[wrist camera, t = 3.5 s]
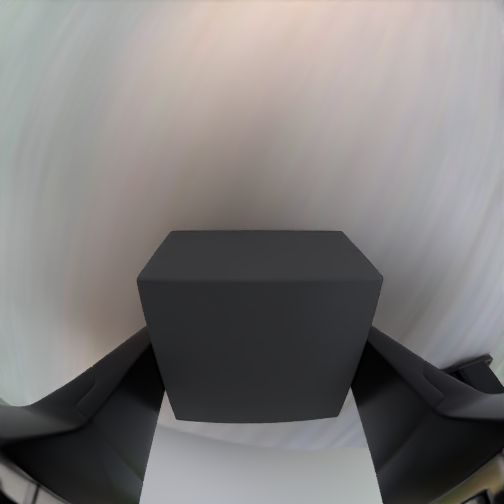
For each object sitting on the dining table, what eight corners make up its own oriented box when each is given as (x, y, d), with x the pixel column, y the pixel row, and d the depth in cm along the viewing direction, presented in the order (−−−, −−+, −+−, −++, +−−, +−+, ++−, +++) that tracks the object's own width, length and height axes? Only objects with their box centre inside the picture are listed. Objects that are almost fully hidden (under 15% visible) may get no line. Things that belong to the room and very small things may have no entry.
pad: (321, 356, 12) (338, 417, 9) (188, 358, 12) (175, 420, 8) (342, 230, 9) (385, 277, 6) (170, 230, 9) (134, 278, 6)
